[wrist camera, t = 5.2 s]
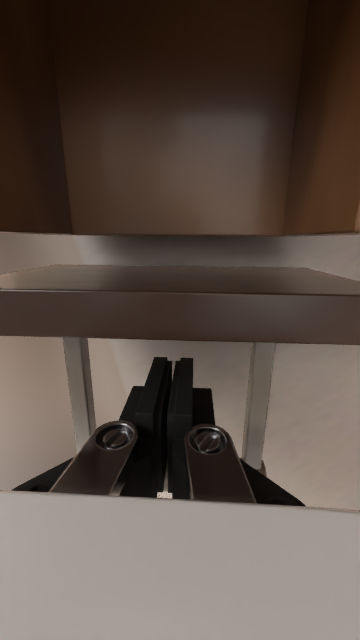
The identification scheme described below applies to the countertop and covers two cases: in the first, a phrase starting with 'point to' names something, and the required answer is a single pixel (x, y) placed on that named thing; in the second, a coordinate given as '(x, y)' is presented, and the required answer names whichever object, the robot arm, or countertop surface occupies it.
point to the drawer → (180, 172)
